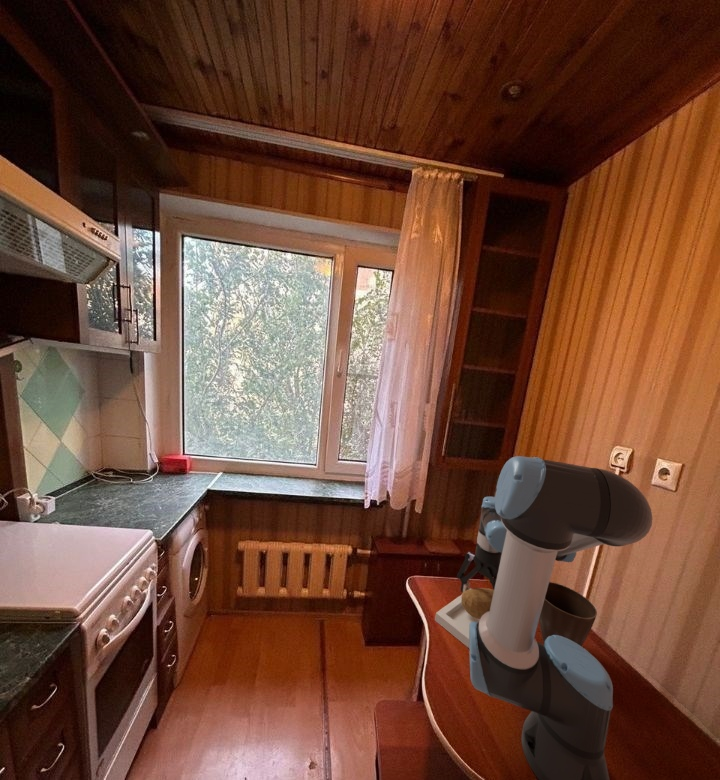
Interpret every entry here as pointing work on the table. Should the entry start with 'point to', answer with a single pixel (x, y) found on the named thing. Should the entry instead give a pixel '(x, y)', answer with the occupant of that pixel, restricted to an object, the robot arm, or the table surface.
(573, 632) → the plant pot
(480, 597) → the potato
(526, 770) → the table surface
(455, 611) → the white rimmed tray
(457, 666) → the table surface
